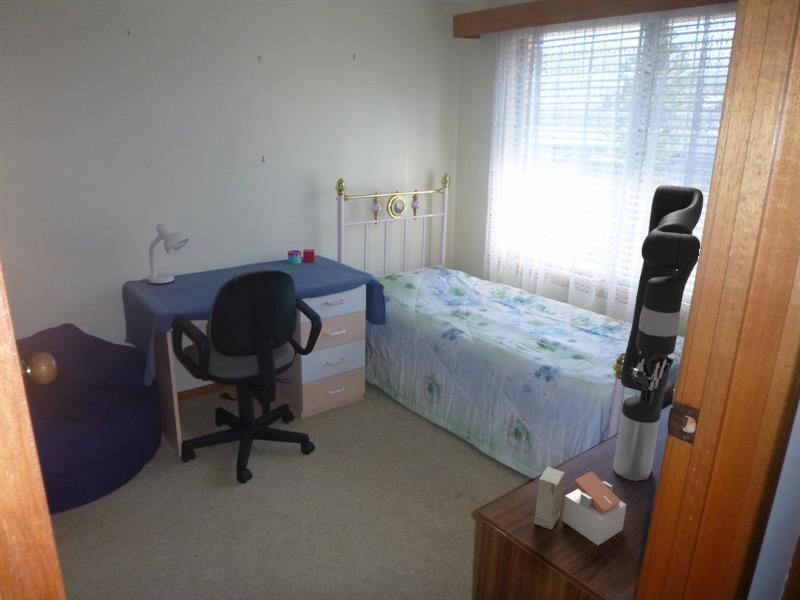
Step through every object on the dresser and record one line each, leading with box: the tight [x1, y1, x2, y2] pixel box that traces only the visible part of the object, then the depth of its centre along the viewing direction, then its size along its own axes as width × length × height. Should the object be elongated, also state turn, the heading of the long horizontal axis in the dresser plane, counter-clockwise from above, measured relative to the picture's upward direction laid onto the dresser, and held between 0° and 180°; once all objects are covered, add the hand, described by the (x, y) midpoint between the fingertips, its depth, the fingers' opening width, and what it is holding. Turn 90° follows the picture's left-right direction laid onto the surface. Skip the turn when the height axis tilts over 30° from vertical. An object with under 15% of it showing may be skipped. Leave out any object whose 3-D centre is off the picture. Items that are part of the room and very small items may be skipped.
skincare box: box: [534, 466, 565, 530], centre depth 138 cm, size 6×4×12 cm
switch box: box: [561, 480, 627, 546], centre depth 137 cm, size 9×10×10 cm
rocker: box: [572, 470, 622, 514], centre depth 135 cm, size 6×9×2 cm, turn 36°
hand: (645, 402), depth 128 cm, fingers closed
